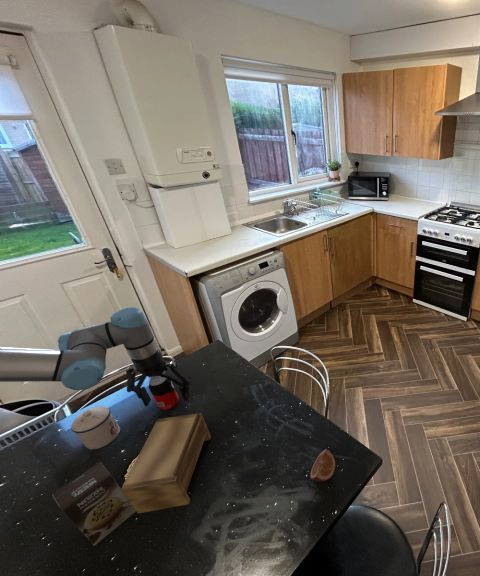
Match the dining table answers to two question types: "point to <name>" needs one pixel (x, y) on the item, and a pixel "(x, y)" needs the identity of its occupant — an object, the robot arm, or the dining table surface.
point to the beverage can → (163, 392)
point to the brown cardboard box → (94, 503)
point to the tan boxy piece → (166, 463)
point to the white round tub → (96, 427)
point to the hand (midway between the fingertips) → (168, 400)
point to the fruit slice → (323, 467)
